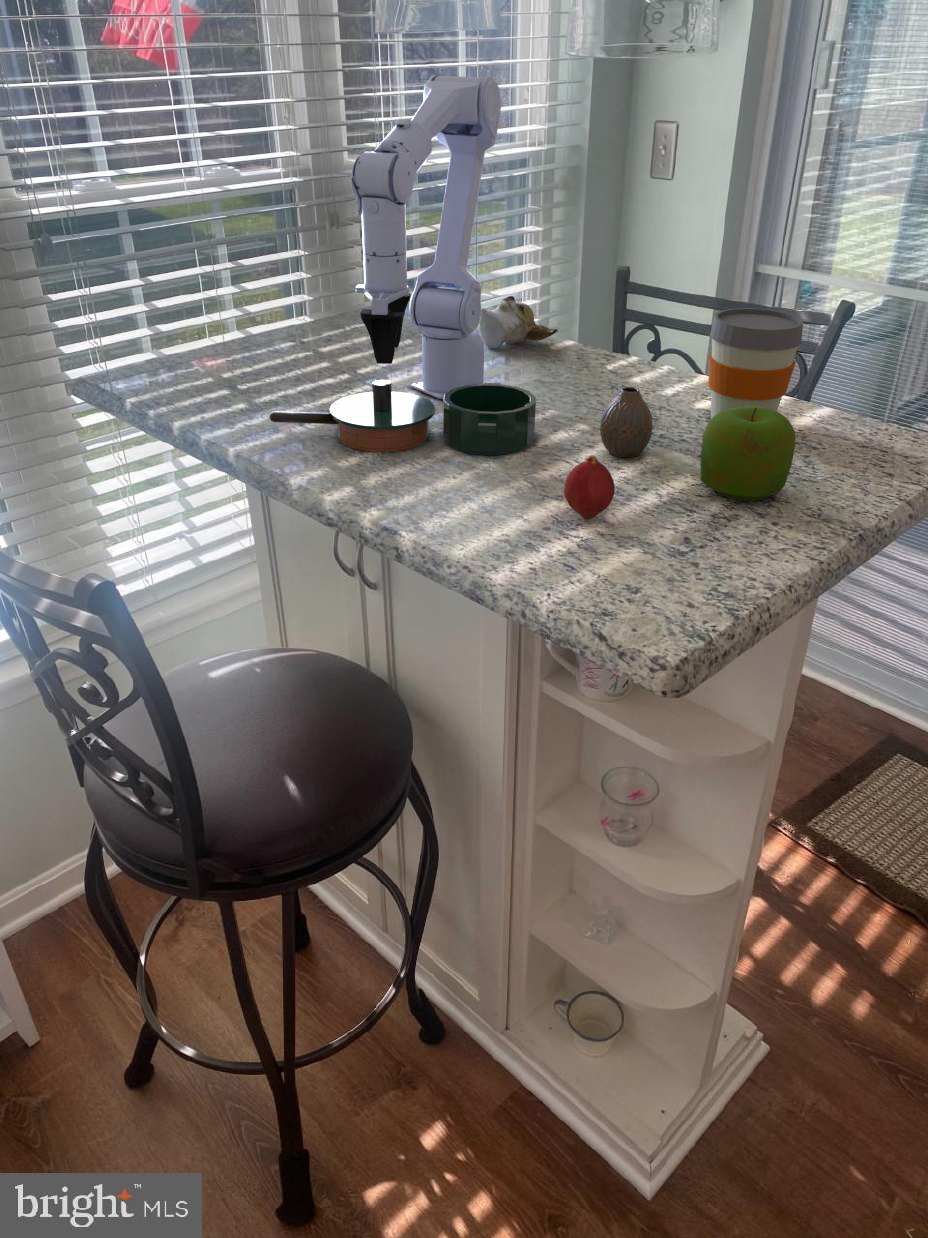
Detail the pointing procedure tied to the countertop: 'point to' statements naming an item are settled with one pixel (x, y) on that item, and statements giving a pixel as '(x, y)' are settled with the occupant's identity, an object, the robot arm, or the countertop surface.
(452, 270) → the robot arm
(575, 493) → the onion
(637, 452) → the vase
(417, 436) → the pan
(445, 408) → the pot
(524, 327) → the ceramic sculpture
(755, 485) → the apple
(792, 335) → the reusable coffee cup
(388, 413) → the lid
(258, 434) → the countertop surface
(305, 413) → the pan handle
